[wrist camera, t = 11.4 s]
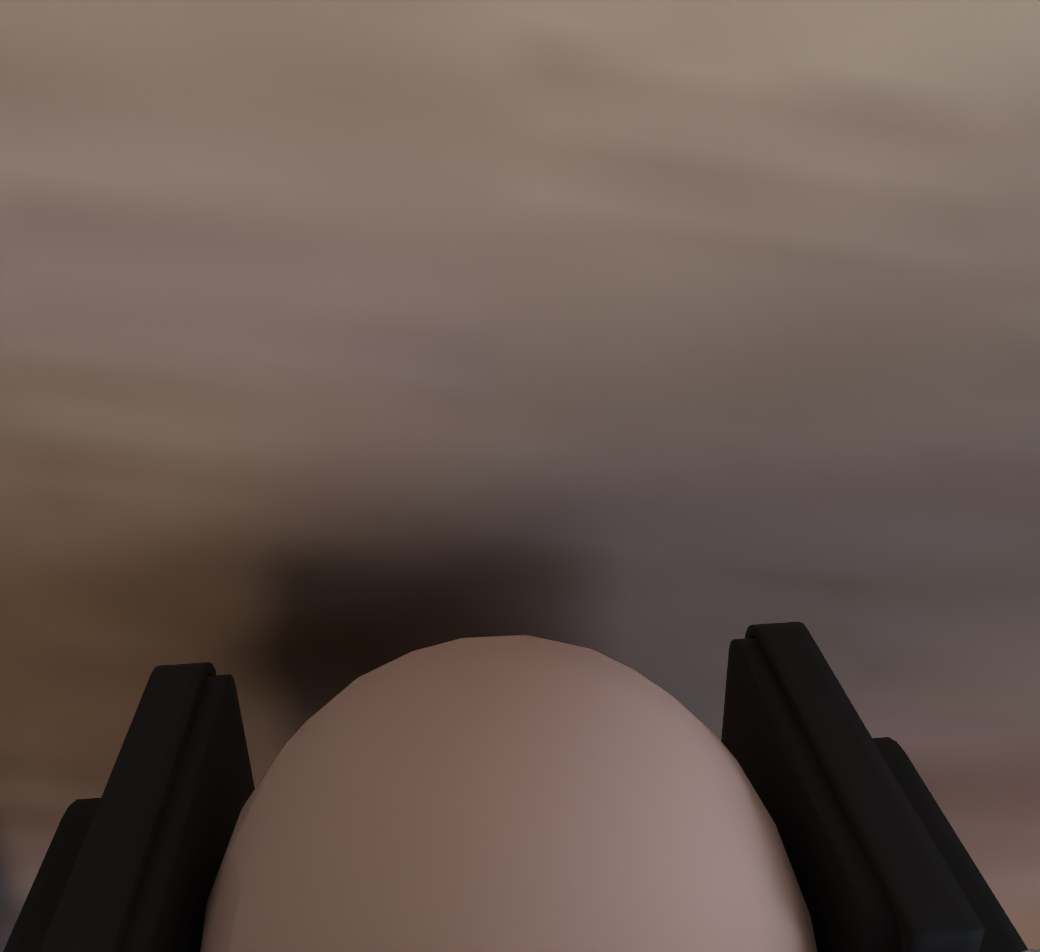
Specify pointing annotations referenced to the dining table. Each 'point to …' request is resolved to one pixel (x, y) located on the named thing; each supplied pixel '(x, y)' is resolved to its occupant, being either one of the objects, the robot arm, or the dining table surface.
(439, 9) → the dining table surface
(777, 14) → the dining table surface
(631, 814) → the egg
